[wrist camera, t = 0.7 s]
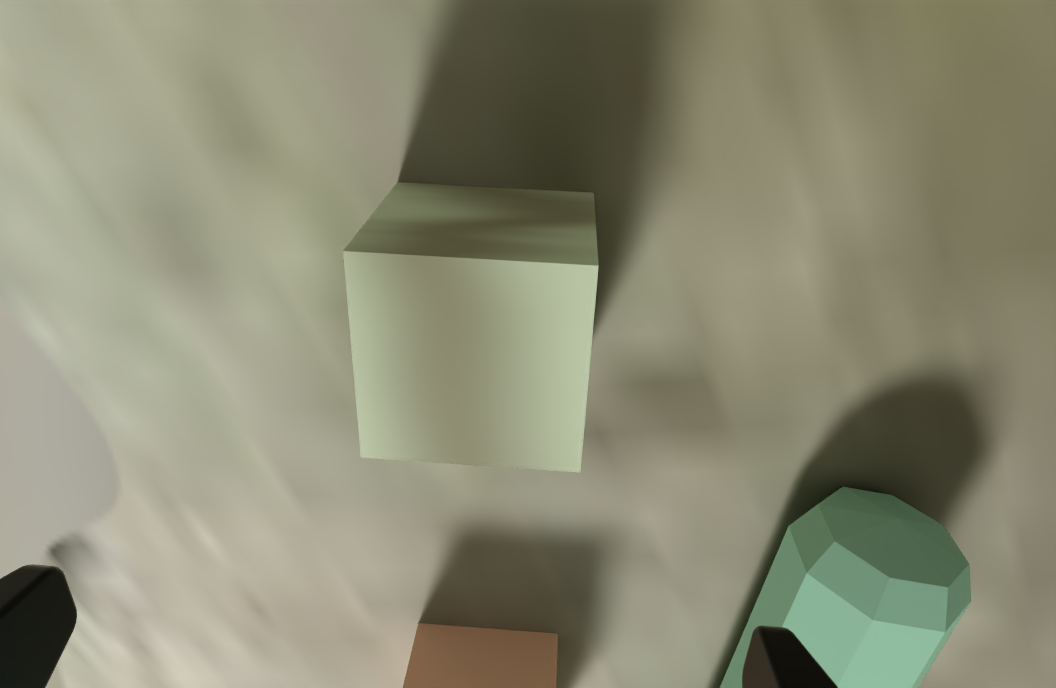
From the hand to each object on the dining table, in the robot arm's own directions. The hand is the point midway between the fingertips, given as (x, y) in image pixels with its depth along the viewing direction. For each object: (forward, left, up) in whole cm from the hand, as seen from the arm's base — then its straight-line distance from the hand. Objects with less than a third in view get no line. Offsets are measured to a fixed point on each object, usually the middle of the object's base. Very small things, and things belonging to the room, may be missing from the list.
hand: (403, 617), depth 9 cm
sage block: (0, 0, -12) cm, 12 cm away
